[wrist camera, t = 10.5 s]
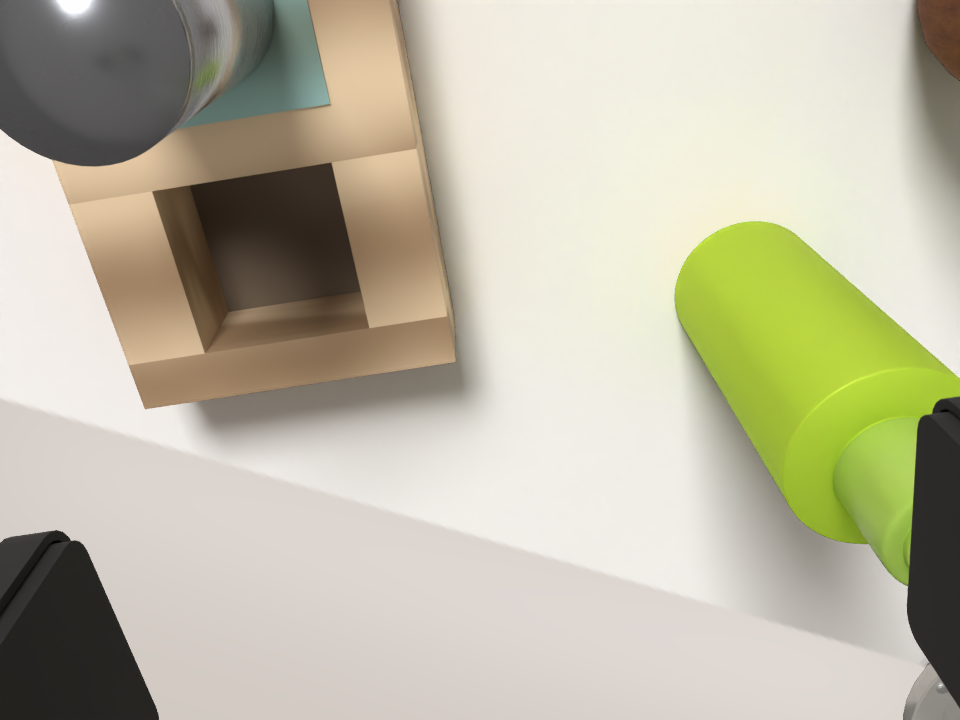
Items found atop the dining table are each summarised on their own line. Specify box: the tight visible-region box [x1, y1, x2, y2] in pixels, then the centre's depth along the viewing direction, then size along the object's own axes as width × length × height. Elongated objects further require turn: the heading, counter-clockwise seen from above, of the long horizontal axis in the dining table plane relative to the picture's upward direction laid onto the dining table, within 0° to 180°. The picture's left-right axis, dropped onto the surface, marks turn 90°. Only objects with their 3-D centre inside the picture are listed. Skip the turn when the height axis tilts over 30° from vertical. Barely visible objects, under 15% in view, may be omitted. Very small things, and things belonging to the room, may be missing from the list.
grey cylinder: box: [0, 0, 275, 167], centre depth 23 cm, size 5×5×10 cm
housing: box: [52, 0, 456, 409], centre depth 31 cm, size 18×12×4 cm, turn 9°
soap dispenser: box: [675, 222, 960, 586], centre depth 28 cm, size 6×7×20 cm
